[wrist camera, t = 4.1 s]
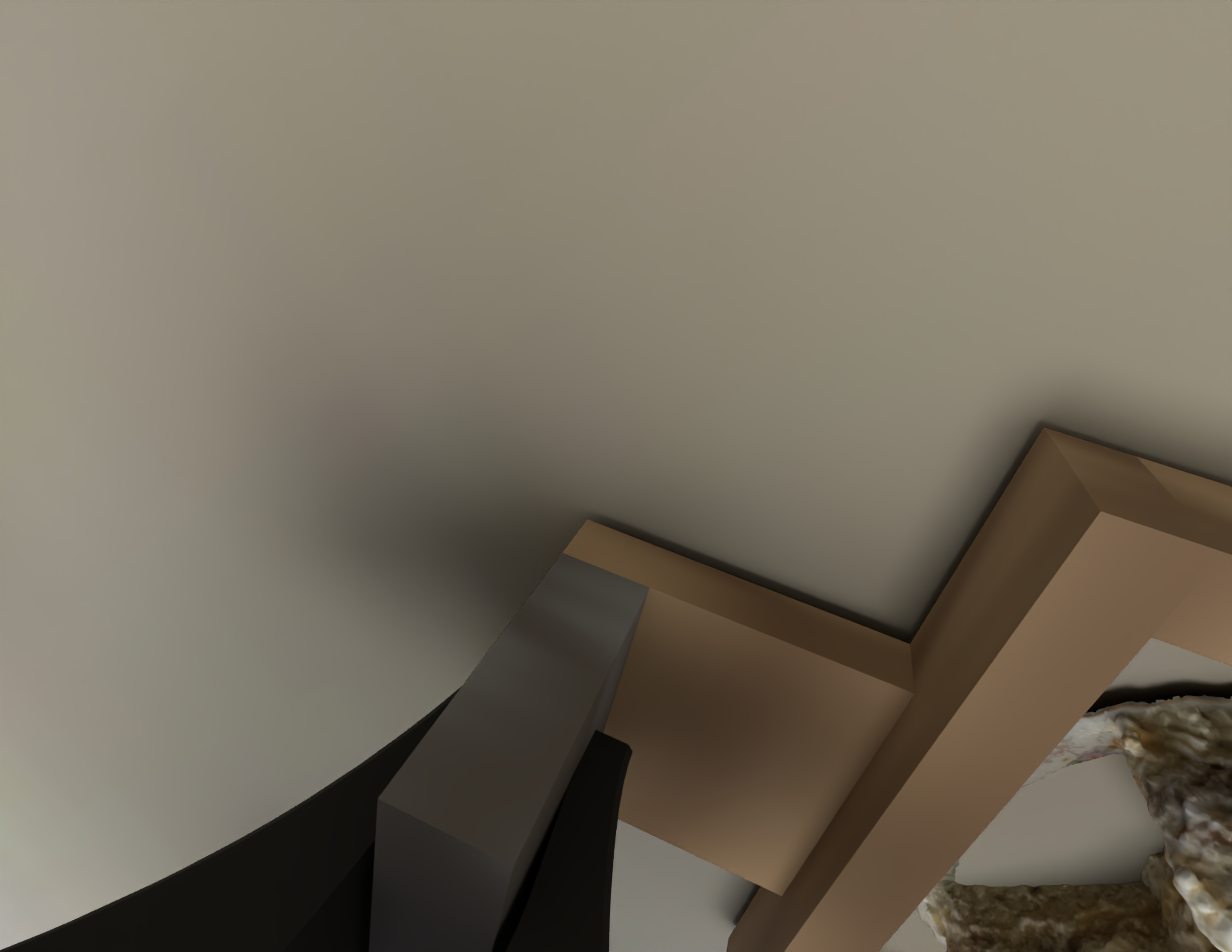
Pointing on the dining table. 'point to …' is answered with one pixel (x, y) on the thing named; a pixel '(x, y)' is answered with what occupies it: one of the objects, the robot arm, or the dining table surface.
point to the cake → (1171, 881)
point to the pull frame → (799, 710)
